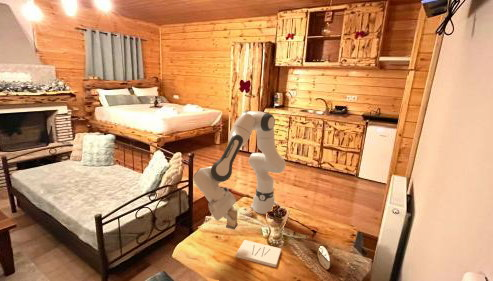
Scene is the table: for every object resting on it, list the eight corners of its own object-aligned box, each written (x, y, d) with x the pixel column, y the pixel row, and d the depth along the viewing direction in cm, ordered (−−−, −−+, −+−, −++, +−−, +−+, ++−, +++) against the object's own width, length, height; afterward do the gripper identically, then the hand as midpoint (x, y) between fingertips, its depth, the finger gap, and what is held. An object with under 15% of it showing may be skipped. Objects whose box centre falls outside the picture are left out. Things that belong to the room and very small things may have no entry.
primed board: (244, 242, 137) (244, 239, 137) (281, 251, 131) (281, 248, 131) (235, 256, 125) (235, 254, 125) (275, 267, 119) (276, 264, 119)
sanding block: (229, 223, 133) (229, 207, 132) (237, 225, 132) (238, 209, 130) (225, 227, 129) (226, 211, 127) (234, 229, 128) (235, 213, 126)
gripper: (211, 201, 119) (229, 224, 119) (228, 186, 138) (244, 206, 138) (202, 208, 122) (220, 231, 121) (220, 192, 141) (236, 212, 140)
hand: (233, 217), depth 129 cm, fingers closed on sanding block, 4 cm apart
